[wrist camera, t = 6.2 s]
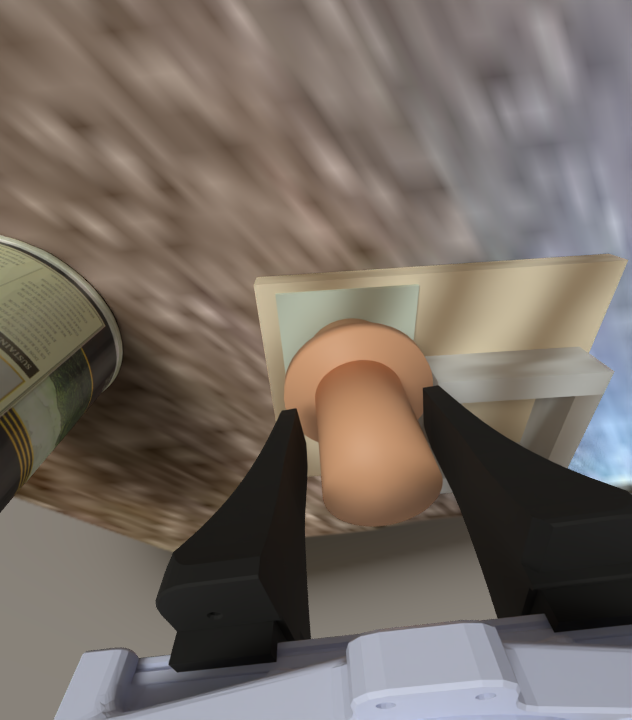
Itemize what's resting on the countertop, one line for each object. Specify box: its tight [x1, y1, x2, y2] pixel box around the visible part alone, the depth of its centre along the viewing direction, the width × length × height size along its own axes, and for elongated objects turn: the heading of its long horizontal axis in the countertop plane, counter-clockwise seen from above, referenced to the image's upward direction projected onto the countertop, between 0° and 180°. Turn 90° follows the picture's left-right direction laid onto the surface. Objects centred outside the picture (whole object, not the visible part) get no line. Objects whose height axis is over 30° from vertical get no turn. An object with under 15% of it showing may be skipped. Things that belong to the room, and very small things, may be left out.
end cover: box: [284, 318, 443, 526], centre depth 15 cm, size 7×7×8 cm
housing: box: [254, 254, 628, 493], centre depth 19 cm, size 18×14×4 cm
